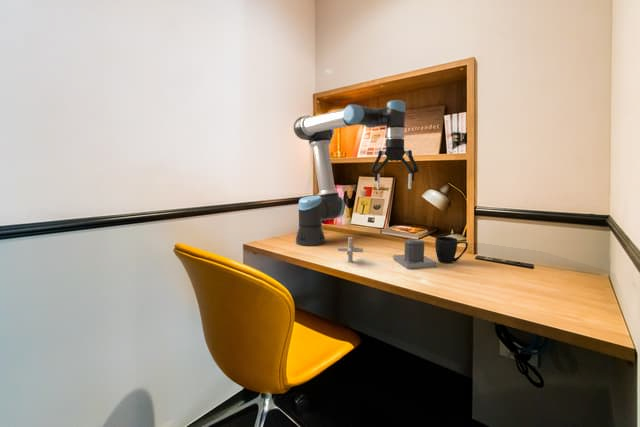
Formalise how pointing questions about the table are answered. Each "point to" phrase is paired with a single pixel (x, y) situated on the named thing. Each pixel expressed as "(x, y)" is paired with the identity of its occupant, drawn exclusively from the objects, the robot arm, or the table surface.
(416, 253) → the knob
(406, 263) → the shaft block
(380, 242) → the table surface
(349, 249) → the pipe connector
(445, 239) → the mug
